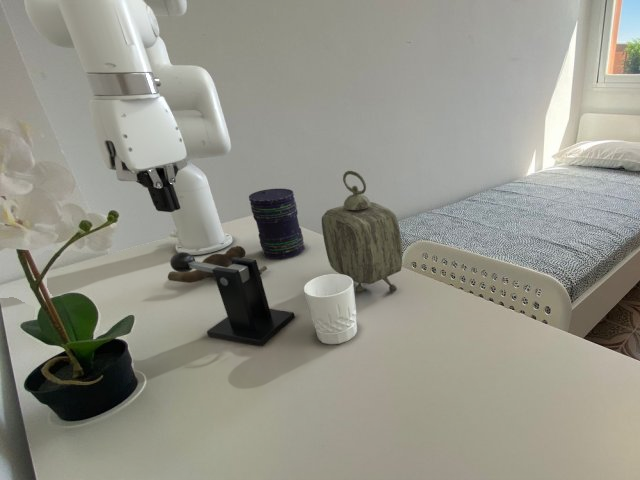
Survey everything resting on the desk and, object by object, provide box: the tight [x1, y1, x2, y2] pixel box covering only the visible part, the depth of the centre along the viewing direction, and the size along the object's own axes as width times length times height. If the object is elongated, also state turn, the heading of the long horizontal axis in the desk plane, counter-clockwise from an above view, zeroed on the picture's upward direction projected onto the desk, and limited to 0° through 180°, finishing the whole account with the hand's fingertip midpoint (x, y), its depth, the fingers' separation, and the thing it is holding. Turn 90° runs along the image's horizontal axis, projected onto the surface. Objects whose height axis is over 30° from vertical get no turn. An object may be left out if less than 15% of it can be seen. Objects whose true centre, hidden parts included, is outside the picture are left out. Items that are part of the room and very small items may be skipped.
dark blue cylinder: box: [248, 188, 306, 261], centre depth 101 cm, size 10×10×15 cm
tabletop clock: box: [321, 170, 403, 293], centre depth 82 cm, size 14×9×25 cm, turn 50°
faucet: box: [167, 245, 268, 284], centre depth 92 cm, size 5×17×15 cm
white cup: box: [303, 273, 358, 345], centre depth 71 cm, size 8×8×10 cm
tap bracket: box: [206, 257, 296, 347], centre depth 72 cm, size 11×9×13 cm
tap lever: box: [169, 252, 250, 283], centre depth 71 cm, size 14×4×4 cm, turn 76°
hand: (168, 209), depth 67 cm, fingers closed
